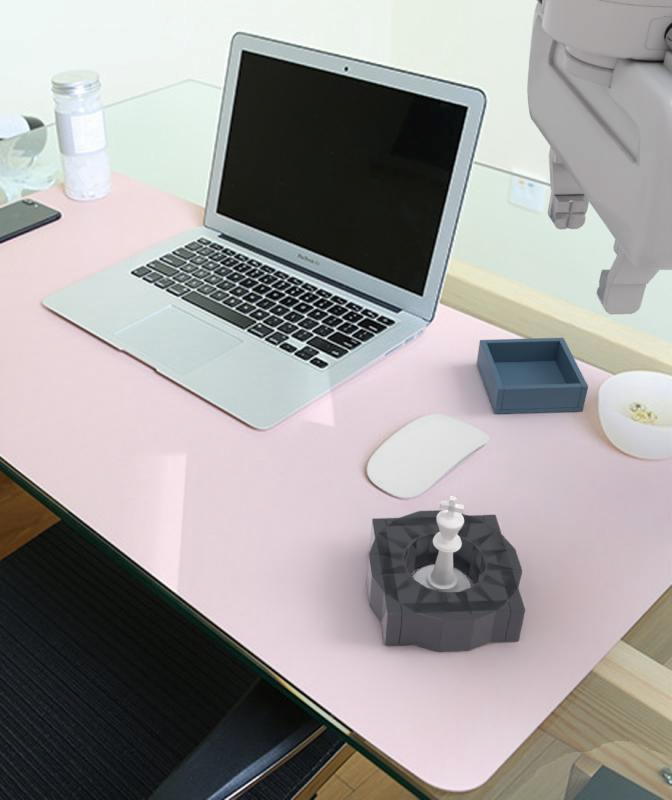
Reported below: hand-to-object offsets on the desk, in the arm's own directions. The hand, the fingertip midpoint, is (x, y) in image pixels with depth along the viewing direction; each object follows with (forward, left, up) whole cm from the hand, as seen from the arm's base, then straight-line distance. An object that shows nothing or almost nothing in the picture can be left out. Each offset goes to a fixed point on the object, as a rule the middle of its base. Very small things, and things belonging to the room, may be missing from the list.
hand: (588, 262), depth 52 cm
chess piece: (+4, -5, -32) cm, 33 cm away
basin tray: (-9, -32, -32) cm, 46 cm away
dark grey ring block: (+4, -5, -32) cm, 32 cm away
